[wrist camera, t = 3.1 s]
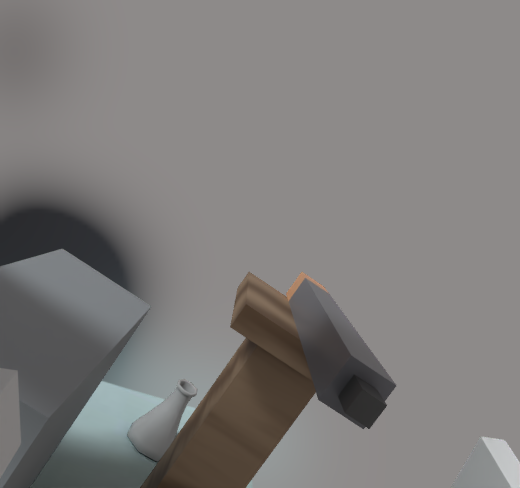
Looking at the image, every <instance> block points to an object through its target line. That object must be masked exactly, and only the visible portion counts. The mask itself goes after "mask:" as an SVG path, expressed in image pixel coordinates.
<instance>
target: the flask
mask: <svg viewBox="0 0 520 488" xmlns="http://www.w3.org/2000/svg"><path fill="white" fill-rule="evenodd" d="M196 394H197V389H196V387H195V386H194V385H193V384H192V383H191V382H189V381H187V380H185V379H181V380H179V381H178V384H177V387H176V389H175V390H174V392H173V393H172V394H170V396H169V397H168V398H166V399H165V400H164V401H163V402H162V403H160V404H159V405H158V406H156V407H155V408H153V409H152V410H151V411H149V412H148V413H146V414H145V415H143V416H142V417H140V418H139V419H137V420H136V421H135V422H133V423H132V425H131V427H130V429H129V432H128V434H127V436H128V437H129V439H130V440H131V442H132V443H133V444H134V446H135V447H136V449H137V450H138V451H139V452H140V453H142V454H144V455H146V456H147V457H149V458H151V459H153V460H154V461H156V462H157V461H159V460H160V459H161V458H162V456H163V455H164V453H165V452H166V451H167V449H168V448H169V446H170V445H171V443H172V442H173V441H174V439H175V436H176V433H177V430H178V426H179V423H180V420H181V417H182V414H183V412H184V410H185V408H186V405H187V403H188V402H189V401H190V399H191V398H192V397H194V396H195V395H196Z"/></svg>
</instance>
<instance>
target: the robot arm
mask: <svg viewBox="0 0 520 488" xmlns="http://www.w3.org/2000/svg"><path fill="white" fill-rule="evenodd" d="M20 445H21V430H20V409H19V388H18V371H17V370H10V369H3V368H0V478H1V476H2V475H3V473H4V471H5V470H6V468H7V466H8V465H9V463H10V461H11V460H12V458H13V456H14V455H15V453H16V451H17V450H18V448H19V446H20ZM451 488H520V463H519V461H518V460H517V458H516V456H515V455H514V453H513V452H512V450H511V449H510V447H509V446H508V444H507V443H506V441H505V440H501V439H494V438H487V437H480V439H479V441H478V442H477V444H476V446H475V448H474V449H473V451H472V452H471V454H470V456H469V457H468V459H467V461H466V463H465V465H464V466H463V468H462V469H461V471H460V473H459V474H458V476H457V478H456V479H455V481H454V483H453V484H452V486H451Z"/></svg>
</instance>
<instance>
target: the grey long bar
mask: <svg viewBox="0 0 520 488" xmlns="http://www.w3.org/2000/svg"><path fill="white" fill-rule="evenodd" d="M286 295H287V298H288V301H289V305H290V308H291V311H292V315H293V318H294V321H295V324H296V328H297V331H298V334H299V338H300V341H301V344H302V347H303V351H304V354H305V357H306V360H307V364H308V367H309V370H310V374H311V377H312V380H313V383H314V387H315V390H316V393H317V397H318V400H320V401H321V402H323V403H324V404H326V405H327V406H329V407H330V408H332V409H333V410H335V411H336V412H338V413H340V414H341V415H343V416H344V417H346V418H347V419H349V420H350V421H352V422H353V423H355V424H356V425H358V426H359V427H361V428H362V429H364V428H365V427H367V428H368V429H370V427H371V426H372V425H373V423H374V422H375V421H376V419H377V418H378V417H379V416H380V414H381V413H382V412H383V410H384V409H385V408H386V406H387V405H386V403H385V400H386V399H387V397H388V396H389V395H390V394H391V392H392V391H393V390H394V388H395V387H396V384H395V383H394V382H393V380H392V379H391V377H390V376H389V375H388V373H387V372H386V371H385V369H384V368H383V367H382V365H381V364H380V362H379V361H378V360H377V358H376V357H375V356H374V354H373V353H372V352H371V350H370V349H369V348H368V346H367V345H366V343H365V342H364V341H363V339H362V338H361V337H360V335H359V334H358V332H357V331H356V330H355V328H354V327H353V326H352V324H351V323H350V322H349V320H348V319H347V318H346V316H345V315H344V313H343V312H342V311H341V310H340V308H339V307H338V305H337V304H336V302H335V301H334V300H333V298H332V297H331V296H330V294H329V293H328V292H327V290H326V289H325V287H324V286H322V285H321V284H319V283H318V282H316V281H315V280H313V279H312V278H310V277H309V276H307V275H306V274H304V273H303V272H301V273H300V275H299V276H298V278H297V279H296V281H295V282H294V283H293V285H292V286H291V288H290V289H289V290H288V292H287V293H286Z"/></svg>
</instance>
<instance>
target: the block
mask: <svg viewBox="0 0 520 488" xmlns="http://www.w3.org/2000/svg"><path fill="white" fill-rule="evenodd" d="M150 308H151V306H150V305H148V304H147V303H145V302H143V301H142V300H141V299H139V298H137V297H136V296H134V295H133V294H131V293H130V292H128V291H127V290H125V289H124V288H122V287H121V286H119V285H117V284H116V283H114V282H113V281H111V280H110V279H108V278H107V277H105V276H104V275H102V274H101V273H99V272H98V271H96V270H94V269H93V268H91V267H90V266H88V265H87V264H85V263H83V262H82V261H81V260H79V259H77V258H76V257H74V256H73V255H71V254H70V253H68V252H67V251H65V250H64V249H60V250H57V251H53V252H50V253H46V254H42V255H40V256H36V257H32V258H29V259H25V260H22V261H18V262H15V263H11V264H8V265H4V266H1V267H0V368H3V369H10V370H17V371H18V388H19V409H20V430H21V445H20V446H19V448H18V450H17V451H16V453H15V455H14V456H13V458H12V460H11V461H10V463H9V465H8V466H7V468H6V470H5V471H4V473H3V475H2V476H1V478H0V488H30V486H31V485H32V484H33V482H34V481H35V479H36V478H37V476H38V475H39V473H40V472H41V470H42V469H43V467H44V466H45V464H46V463H47V461H48V460H49V458H50V457H51V455H52V454H53V452H54V451H55V449H56V448H57V446H58V445H59V443H60V442H61V440H62V439H63V437H64V436H65V434H66V433H67V431H68V430H69V428H70V427H71V425H72V424H73V422H74V421H75V420H76V418H77V417H78V415H79V414H80V412H81V411H82V409H83V408H84V406H85V405H86V403H87V402H88V400H89V399H90V397H91V396H92V394H93V393H94V391H95V390H96V388H97V387H98V385H99V384H100V382H101V381H102V379H103V378H104V376H105V375H106V373H107V372H108V370H109V369H110V367H111V366H112V364H113V363H114V361H115V360H116V358H117V357H118V355H119V354H120V353H121V351H122V349H123V348H124V347H125V345H126V344H127V342H128V341H129V339H130V338H131V336H132V335H133V333H134V332H135V330H136V329H137V327H138V326H139V324H140V323H141V321H142V320H143V318H144V317H145V315H146V314H147V312H148V311H149V309H150Z"/></svg>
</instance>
